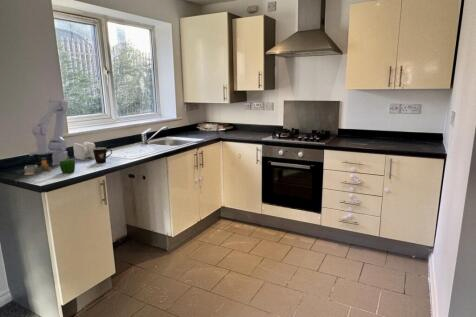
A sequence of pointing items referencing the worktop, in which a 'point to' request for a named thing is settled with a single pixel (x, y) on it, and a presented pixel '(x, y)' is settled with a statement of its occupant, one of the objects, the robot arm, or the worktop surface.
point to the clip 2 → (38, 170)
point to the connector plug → (44, 162)
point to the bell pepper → (67, 166)
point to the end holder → (30, 168)
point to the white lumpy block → (83, 150)
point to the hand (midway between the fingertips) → (44, 165)
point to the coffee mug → (100, 154)
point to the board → (39, 173)
